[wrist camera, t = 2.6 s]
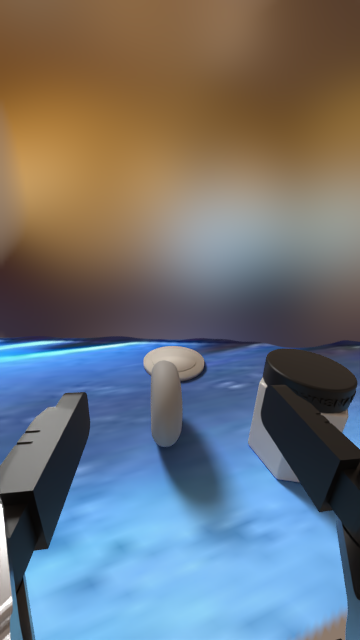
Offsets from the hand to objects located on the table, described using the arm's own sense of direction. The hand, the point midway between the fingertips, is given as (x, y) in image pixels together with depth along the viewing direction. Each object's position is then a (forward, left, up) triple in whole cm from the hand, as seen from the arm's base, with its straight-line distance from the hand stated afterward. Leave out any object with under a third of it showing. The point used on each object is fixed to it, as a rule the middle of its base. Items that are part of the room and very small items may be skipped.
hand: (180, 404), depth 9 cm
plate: (-3, -30, -16) cm, 35 cm away
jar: (-15, -9, -16) cm, 24 cm away
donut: (0, -13, -16) cm, 21 cm away
